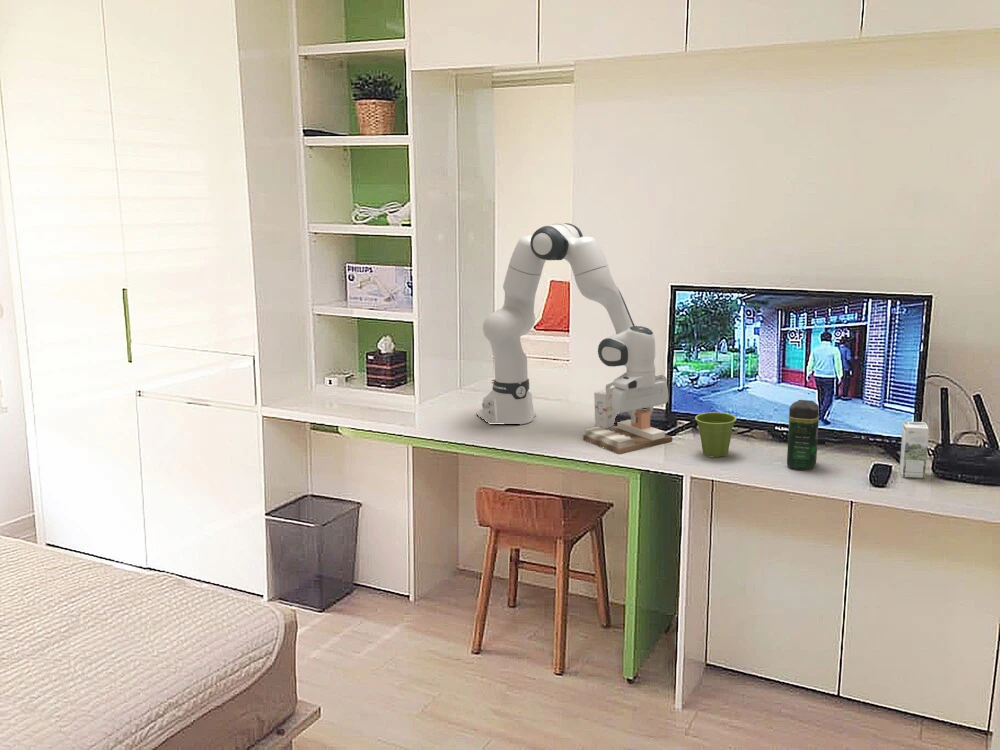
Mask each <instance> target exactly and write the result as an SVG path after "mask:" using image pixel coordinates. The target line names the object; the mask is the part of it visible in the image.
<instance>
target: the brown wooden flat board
mask: <svg viewBox="0 0 1000 750" xmlns="http://www.w3.org/2000/svg"><path fill="white" fill-rule="evenodd" d="M582 438H583V440H582V441H585V440H586V441H585V442H587V441H588V443H590V442H591V443H590V444H592V443H593V445H595V444H596V445H595V446H597V445H598V447H600V446H601V447H600V448H602V447H604V448H603V449H605V448H606V449H605V450H607V449H608V450H607V451H610V450H611V451H610V452H612V451H614V452H613V453H615V452H616V453H615V454H617V453H618V454H617V455H621V454H625V453H630V452H634V451H637V450H642V449H647V448H651V447H655V446H658V445H663V444H667V443H672V442H673V436H671V435H669V434H666V433H665V438H661V439H657V440H653V441H652V440H649V439H646V438H644V437H641V436H638V435H635V434H633V433H630V432H627V431H624V430H621V429H619V428H617V427H615V428H610V429H609V428H604V427H602V426H599V427H595V426H594V427H590V428H586V429H585V432H584V434H583V435H582Z"/></svg>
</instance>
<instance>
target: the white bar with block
mask: <svg viewBox="0 0 1000 750" xmlns="http://www.w3.org/2000/svg"><path fill="white" fill-rule="evenodd" d="M634 414H635V417H638V423H631V418H630V419H626V420H620V422H617V424H616V425H617V426H616V428H619V429H621V430H624V431H627V432H630V433H633V434H635V435H638V436H641V437H644V438H646V439H649V440H652V441H653V440H657V439H661V438H665V434H666V433H665V430H662V429H658V428H656V427H653V426H651V415H650V412H648V411H646V410H645V409H643V408H642V409H637V410H636V413H634Z"/></svg>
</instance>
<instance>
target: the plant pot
mask: <svg viewBox="0 0 1000 750" xmlns="http://www.w3.org/2000/svg"><path fill="white" fill-rule="evenodd" d="M737 418H738V417H736V416H735V415H733V414H732V413H726V412H717V411H716V412H714V411H713V412H703V413H702V412H701V413H700V414H697V415H696V416H695V417H694V419H695V421H696V422H697V423H696V424H697V427H698V431H699V436H700V441H701V442H700V444H701V449H702V453H703V455H705V456H706V455H707V456H706V457H708V456H713V457H712V458H720V457H726V456H728V454H729V449H730V443H731V440H732V433H733V429H734V425H735V422H736V421H737Z"/></svg>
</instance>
